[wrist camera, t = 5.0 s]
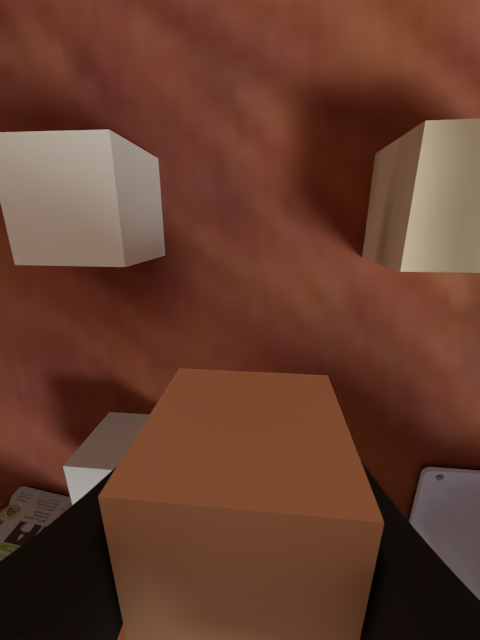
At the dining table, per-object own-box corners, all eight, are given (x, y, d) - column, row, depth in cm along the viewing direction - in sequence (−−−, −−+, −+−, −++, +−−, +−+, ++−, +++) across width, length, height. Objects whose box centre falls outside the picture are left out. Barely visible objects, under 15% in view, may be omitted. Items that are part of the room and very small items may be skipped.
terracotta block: (327, 375, 10) (384, 523, 5) (315, 491, 11) (348, 689, 6) (179, 368, 10) (97, 496, 5) (187, 481, 12) (130, 658, 7)
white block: (158, 158, 15) (109, 129, 11) (165, 255, 17) (125, 266, 12) (69, 160, 16) (-16, 132, 11) (84, 253, 17) (14, 264, 13)
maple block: (483, 151, 14) (592, 114, 9) (459, 258, 15) (542, 273, 11) (374, 154, 14) (425, 120, 10) (361, 257, 16) (400, 271, 11)
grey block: (178, 415, 20) (150, 473, 16) (182, 471, 22) (158, 539, 17) (109, 411, 21) (63, 466, 16) (119, 466, 22) (78, 531, 18)
